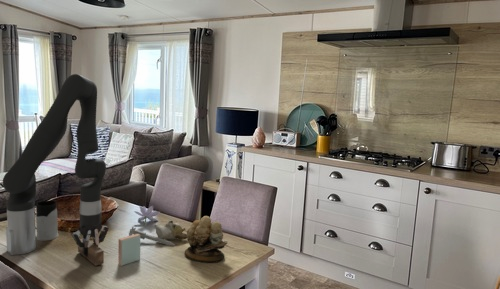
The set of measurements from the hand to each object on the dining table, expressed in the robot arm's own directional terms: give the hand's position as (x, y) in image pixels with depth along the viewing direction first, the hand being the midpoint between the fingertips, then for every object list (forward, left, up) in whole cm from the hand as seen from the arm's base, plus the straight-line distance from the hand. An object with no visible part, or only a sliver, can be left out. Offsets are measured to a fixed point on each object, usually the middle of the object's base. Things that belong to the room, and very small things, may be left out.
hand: (90, 254), depth 142 cm
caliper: (+26, -2, -2) cm, 26 cm away
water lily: (+38, +20, -2) cm, 43 cm away
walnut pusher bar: (0, 0, -1) cm, 1 cm away
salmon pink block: (+10, -12, -2) cm, 15 cm away
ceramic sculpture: (+35, -4, -2) cm, 35 cm away
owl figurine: (+35, -27, -2) cm, 44 cm away
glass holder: (-6, +34, -2) cm, 35 cm away
